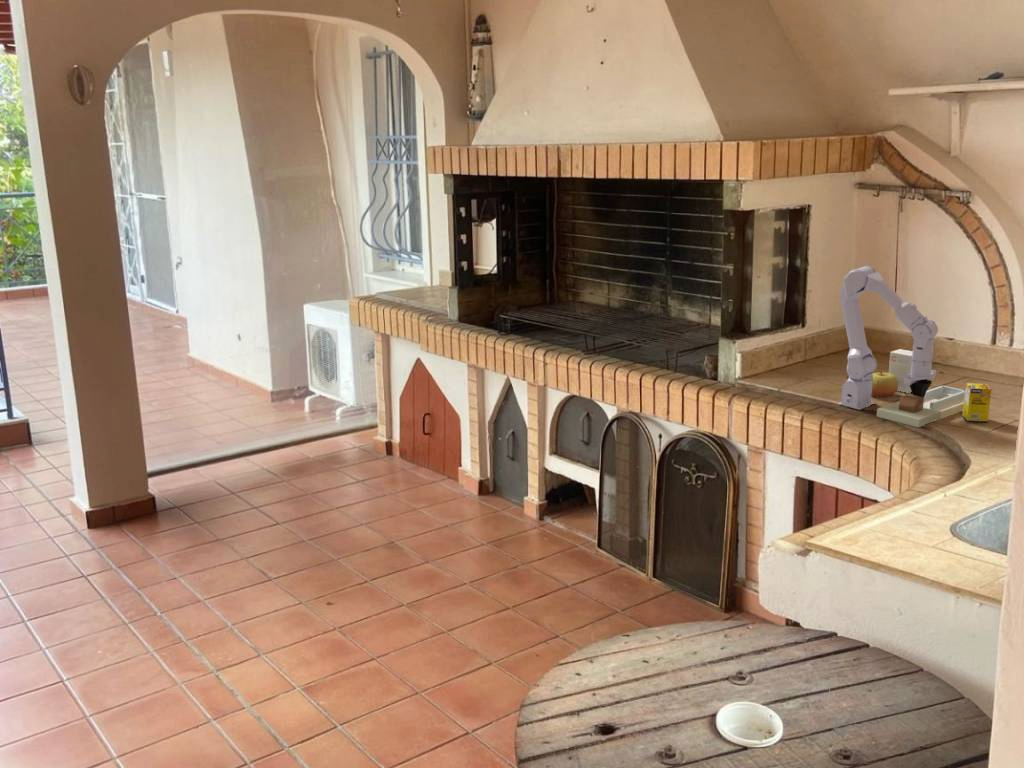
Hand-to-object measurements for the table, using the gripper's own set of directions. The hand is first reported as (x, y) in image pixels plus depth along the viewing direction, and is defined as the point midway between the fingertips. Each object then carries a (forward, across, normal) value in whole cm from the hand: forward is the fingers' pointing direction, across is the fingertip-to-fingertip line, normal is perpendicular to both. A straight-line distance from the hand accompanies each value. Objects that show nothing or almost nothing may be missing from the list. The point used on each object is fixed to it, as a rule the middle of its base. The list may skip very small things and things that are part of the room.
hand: (917, 402), depth 298 cm
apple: (+4, +10, +19) cm, 22 cm away
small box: (+4, +22, +18) cm, 28 cm away
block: (+1, -4, 0) cm, 4 cm away
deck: (+4, +6, 0) cm, 7 cm away
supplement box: (+4, +8, -14) cm, 17 cm away
